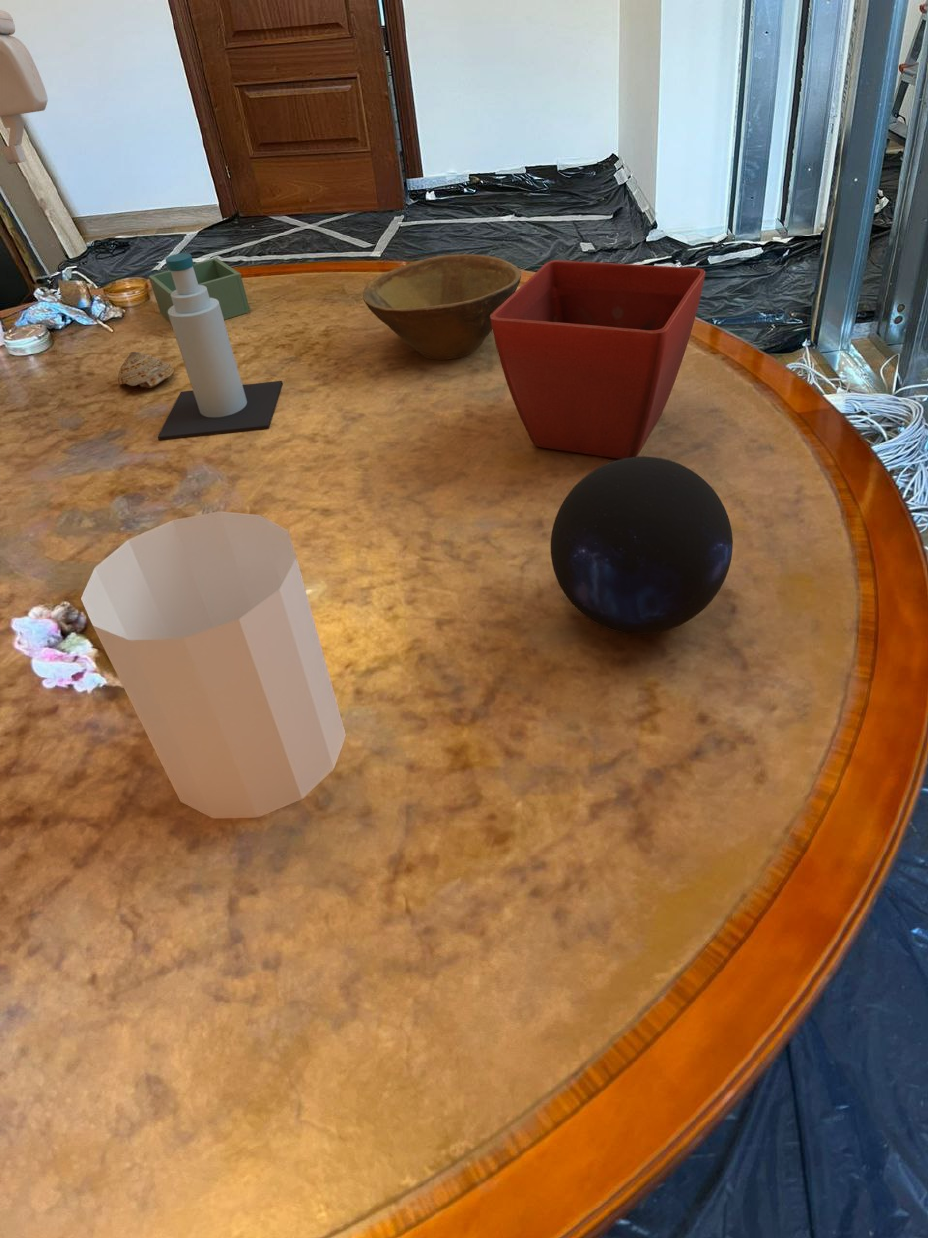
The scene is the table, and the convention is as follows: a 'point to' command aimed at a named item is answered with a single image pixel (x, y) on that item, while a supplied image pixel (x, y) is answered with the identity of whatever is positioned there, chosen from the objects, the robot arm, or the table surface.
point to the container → (220, 660)
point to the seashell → (143, 370)
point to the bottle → (204, 342)
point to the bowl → (443, 301)
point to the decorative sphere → (641, 545)
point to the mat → (252, 417)
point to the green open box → (215, 278)
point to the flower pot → (595, 351)
